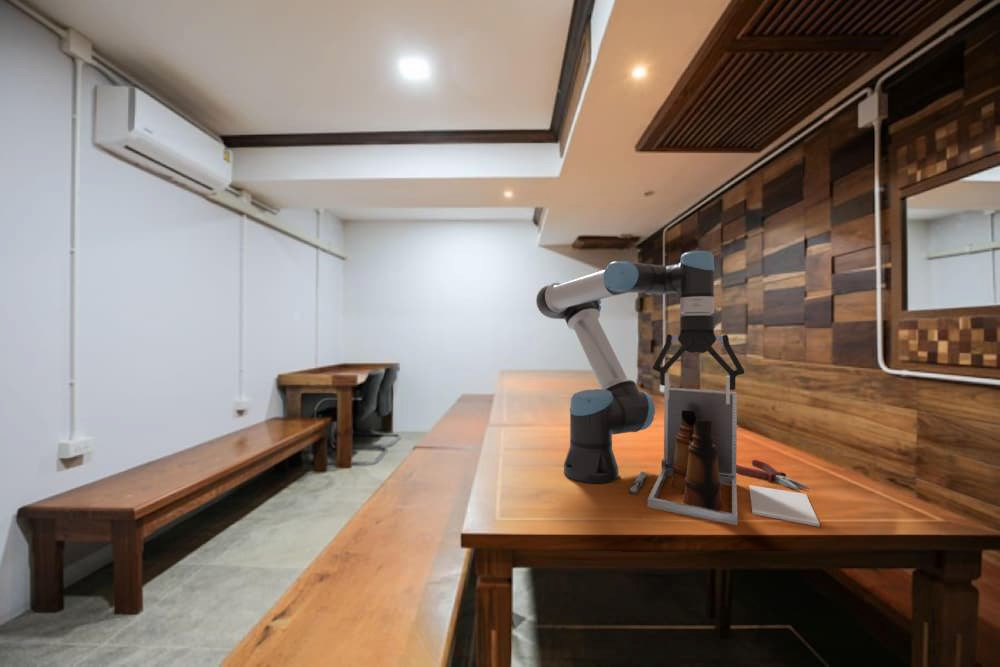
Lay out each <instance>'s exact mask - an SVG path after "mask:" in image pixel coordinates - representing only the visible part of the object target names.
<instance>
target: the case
mask: <svg viewBox="0 0 1000 667" xmlns="http://www.w3.org/2000/svg"><path fill="white" fill-rule="evenodd" d="M663 400H664V402H663V403H664V406H663V407H664V408H663V412H664V413H663V414H664V415H663V416H664V417H663V419H664V420H663V421H664V422H663V458H662V459H661V471H660V472H659V474H658V477H657V479H656V481H655V483H654V484H653V487H652V489H651V491H650V493H649V495H648V497H647V508H649V507H650V509H655V510H660V511H664V512H668V513H669V512H670V513H674V514H680V515H684V516H690V517H693V518H694V517H695V518H697V519H698V518H699V519H704V520H709V521H714V522H717V523H718V522H719V523H722V524H727V525H734V526H738V491H737V490H738V489H737V473H736V464H737V445H738V444H737V434H738V432H737V430H738V427H737V425H738V424H737V423H738V392H736V391H730V404H726V390H724V391H722V390H721V391H720V390H710V389H693V388H681V387H680V388H679V387H678V388H677V387H669V399H668V400H667V399H665V388H664V398H663ZM682 410H692V411H694V412H695V414H696V418H697V421H698V420H707V421H711V422H712V430H711V436H712V437H713V445H715V446H716V449H717V450H718V454H717V459H718V470H719V481H720V483H721V485H726V486H731V512H728V511H725V510H724V511H723V510H722V511H721V510H720V511H718V510H713V509H708V508H703V507H698V506H692V505H687V504H685V503H682V502H676V501H673V500H671V501H670V500H667V499H666V500H665V499H660V498H658V496H659V494H660V491H661V489H662V486H663V484H664V482H665V481H666V478H667V476H670V477H672V474H673V469H672V465H673V463H674V455H675V446H676V439H675V438H676V435H677V433H678V432H680V425H681V412H682Z"/></svg>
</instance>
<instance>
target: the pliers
mask: <svg viewBox="0 0 1000 667" xmlns="http://www.w3.org/2000/svg"><path fill="white" fill-rule="evenodd" d="M751 464H752V466H753V467H754V468H750V467H747V466H743V465H742V466H741V465H739V464H737V463H736V474H739V475H742V476H748V477H752V478H755V479H759V480H763V481H767V482H768V483H777V484H779V485H781V486H784V487H787V488H790V489H794V490H797V491H801V489H805V490H809V489H810V487H808V486H806V485H804V484H803V483H800V482H798V481H796V480H793V479H792V478H789V477H787V474H786V473H785V472H782V471H777V470H776V469H775V468H774V467H773V466H771V464H770V465H769V464H768V463H766V462H763V461H761V460H756V459H753V460H752V461H751ZM755 468H758V469H755ZM759 469H760V470H759Z"/></svg>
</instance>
